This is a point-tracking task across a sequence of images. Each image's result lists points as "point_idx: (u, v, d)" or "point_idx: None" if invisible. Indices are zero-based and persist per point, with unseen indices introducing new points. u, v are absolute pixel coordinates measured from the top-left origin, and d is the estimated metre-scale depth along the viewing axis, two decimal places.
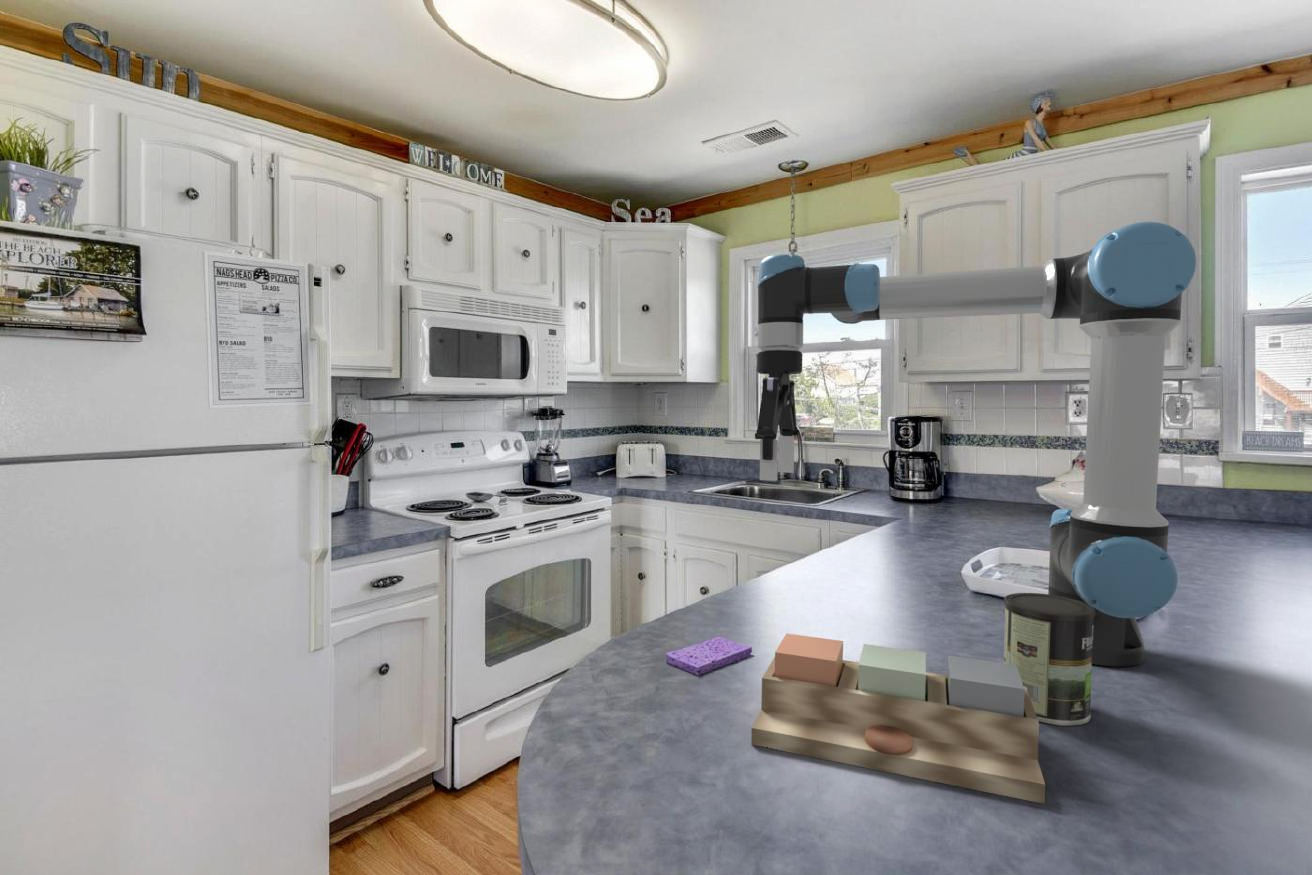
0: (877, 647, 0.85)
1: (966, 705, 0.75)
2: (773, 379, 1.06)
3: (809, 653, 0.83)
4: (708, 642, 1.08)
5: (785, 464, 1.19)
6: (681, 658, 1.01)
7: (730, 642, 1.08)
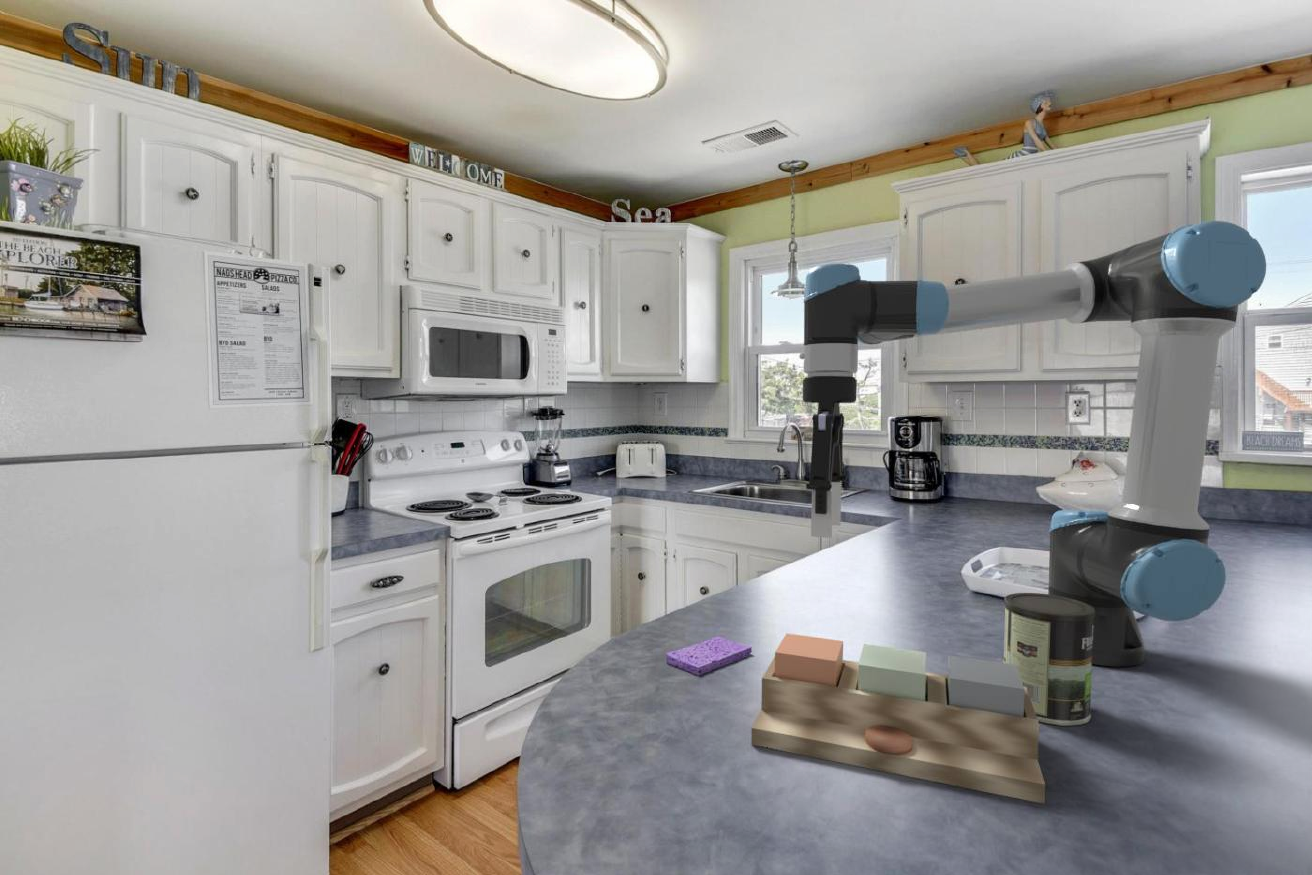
0: (877, 647, 0.85)
1: (966, 705, 0.75)
2: (825, 417, 0.90)
3: (809, 653, 0.83)
4: (708, 642, 1.08)
5: None
6: (682, 658, 1.01)
7: (729, 642, 1.09)
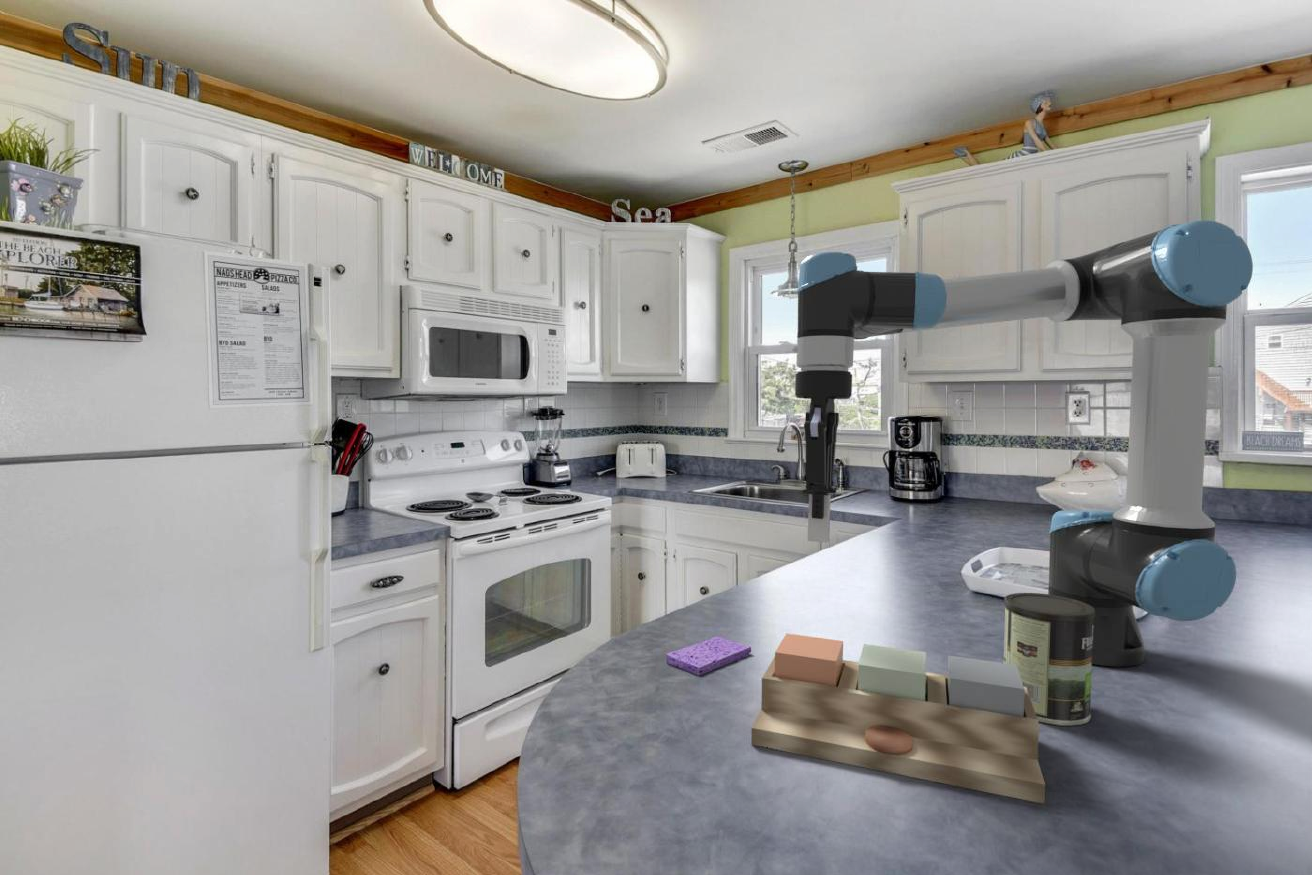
0: (877, 647, 0.85)
1: (966, 705, 0.75)
2: (817, 426, 0.86)
3: (809, 653, 0.83)
4: (707, 642, 1.08)
5: None
6: (682, 658, 1.01)
7: (729, 642, 1.09)
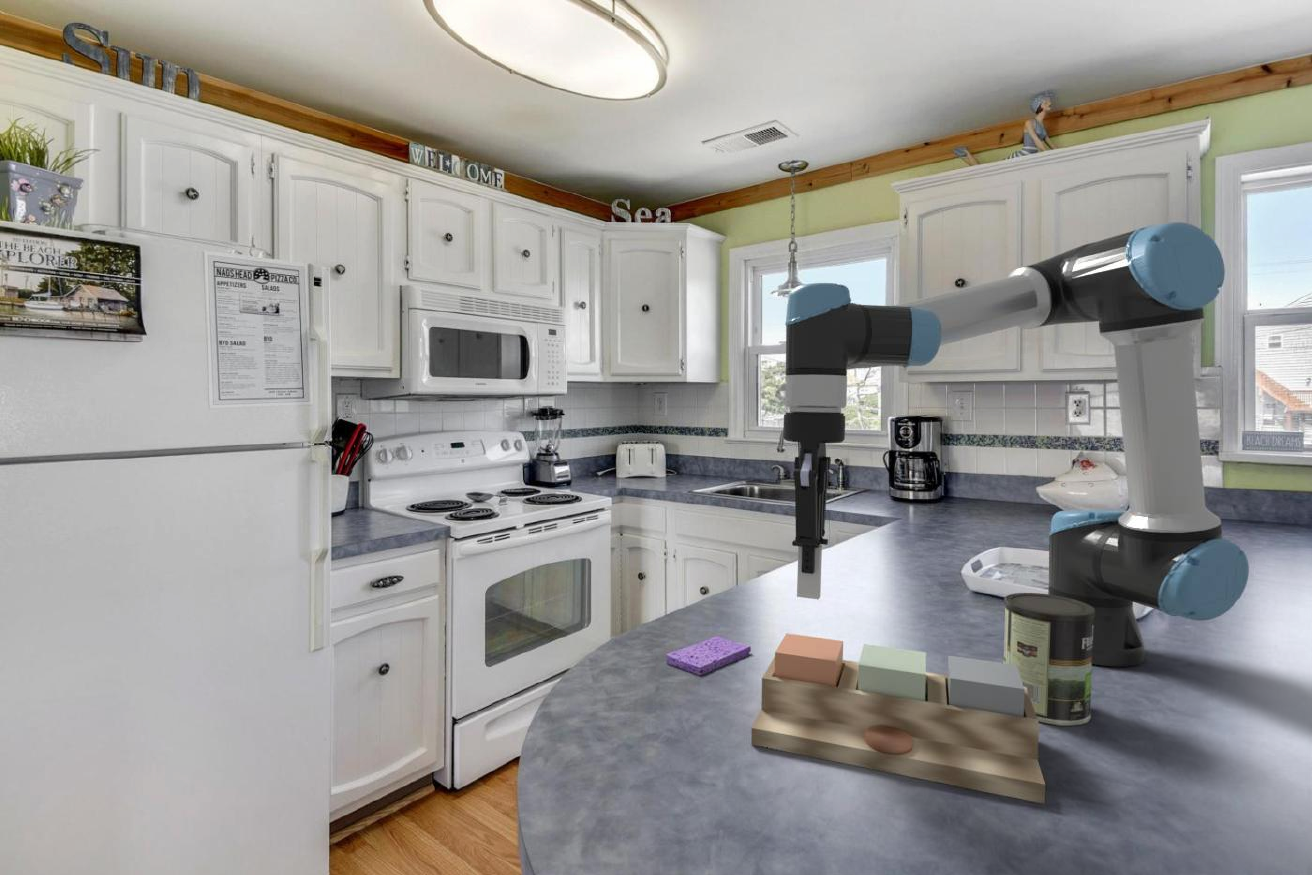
0: (877, 647, 0.85)
1: (966, 705, 0.75)
2: (808, 475, 0.78)
3: (809, 653, 0.83)
4: (706, 642, 1.08)
5: None
6: (682, 659, 1.01)
7: (728, 642, 1.09)
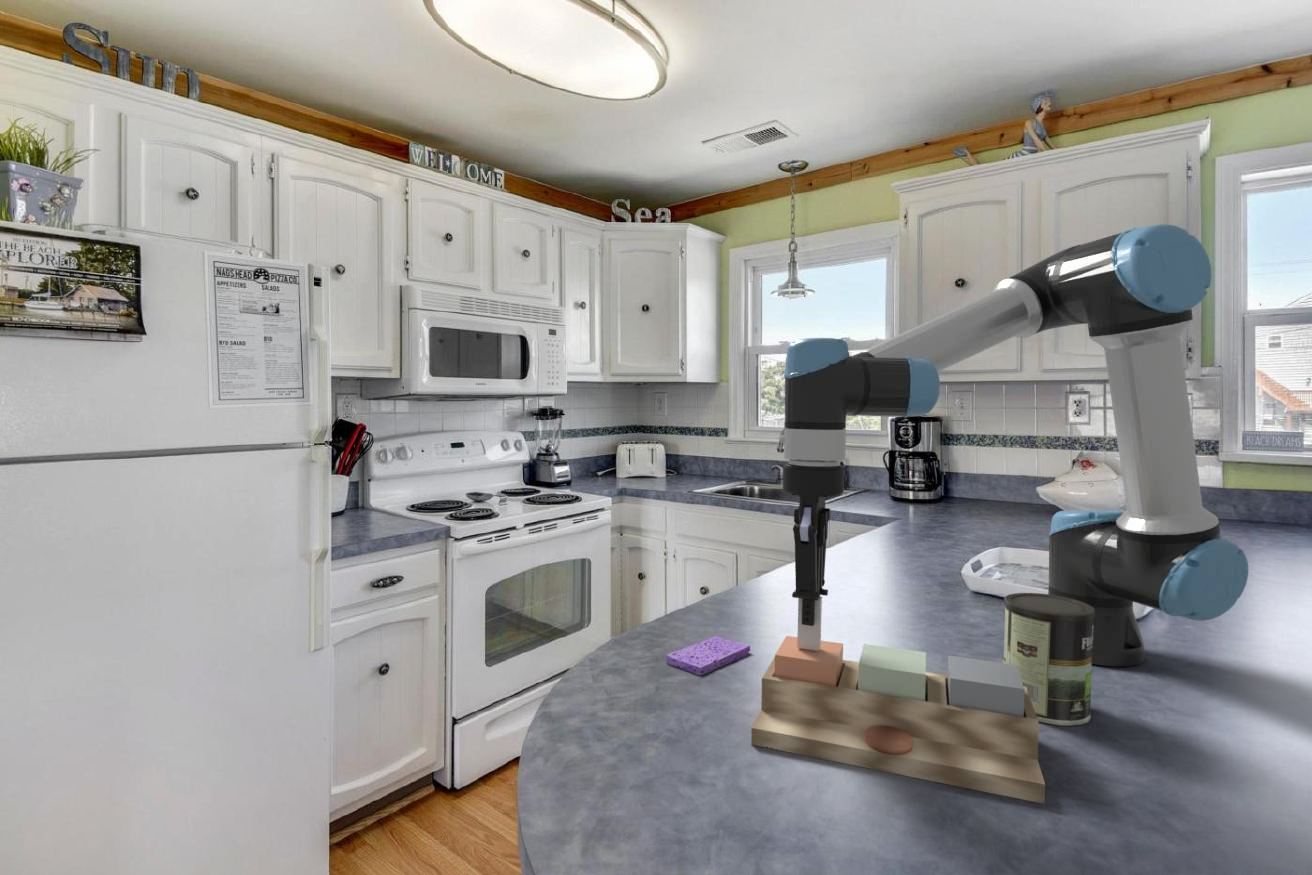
0: (877, 647, 0.85)
1: (966, 705, 0.75)
2: (808, 531, 0.78)
3: (809, 656, 0.83)
4: (706, 642, 1.08)
5: None
6: (683, 659, 1.01)
7: (728, 641, 1.09)
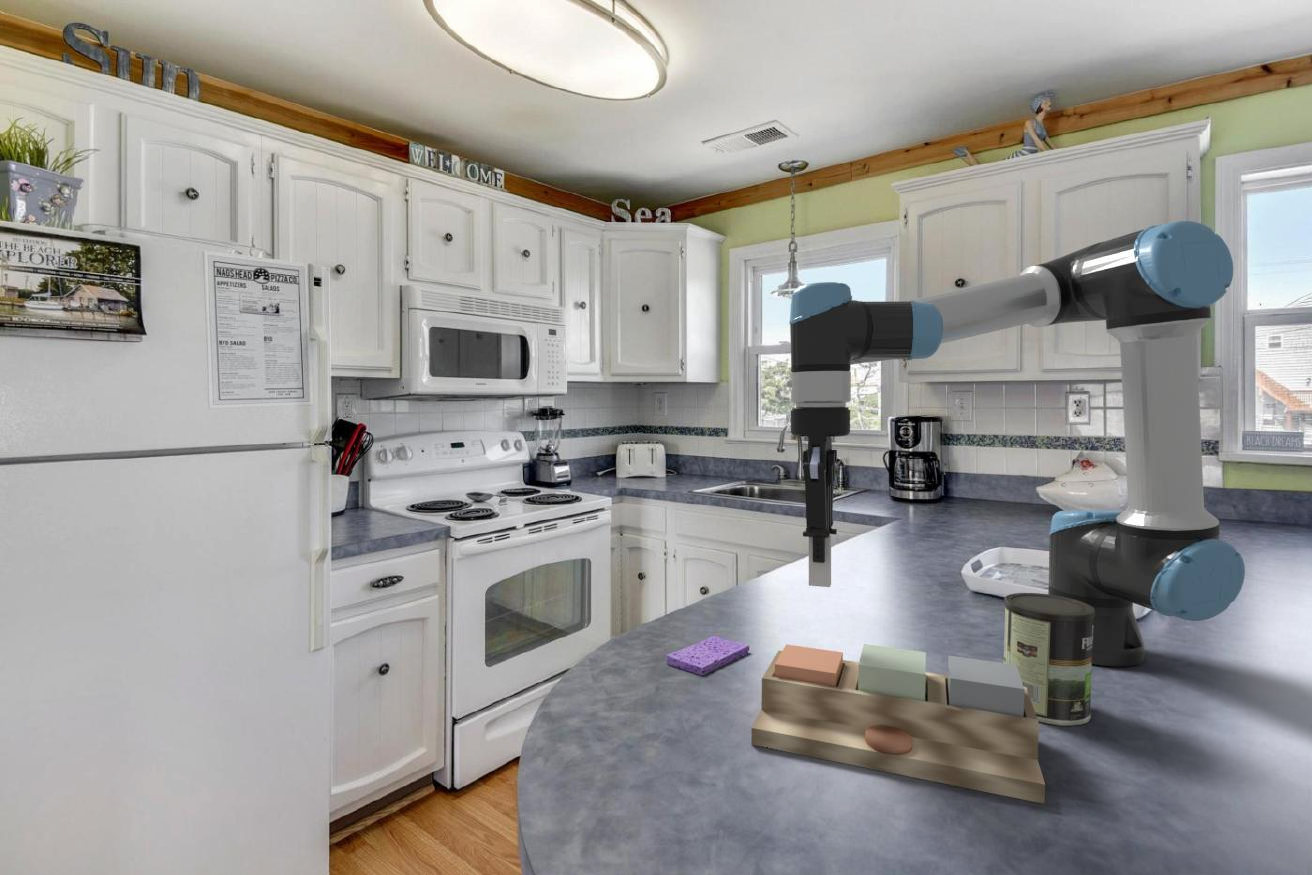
0: (877, 647, 0.85)
1: (966, 705, 0.75)
2: (817, 468, 0.81)
3: (809, 665, 0.83)
4: (705, 642, 1.08)
5: None
6: (684, 659, 1.01)
7: (726, 641, 1.09)
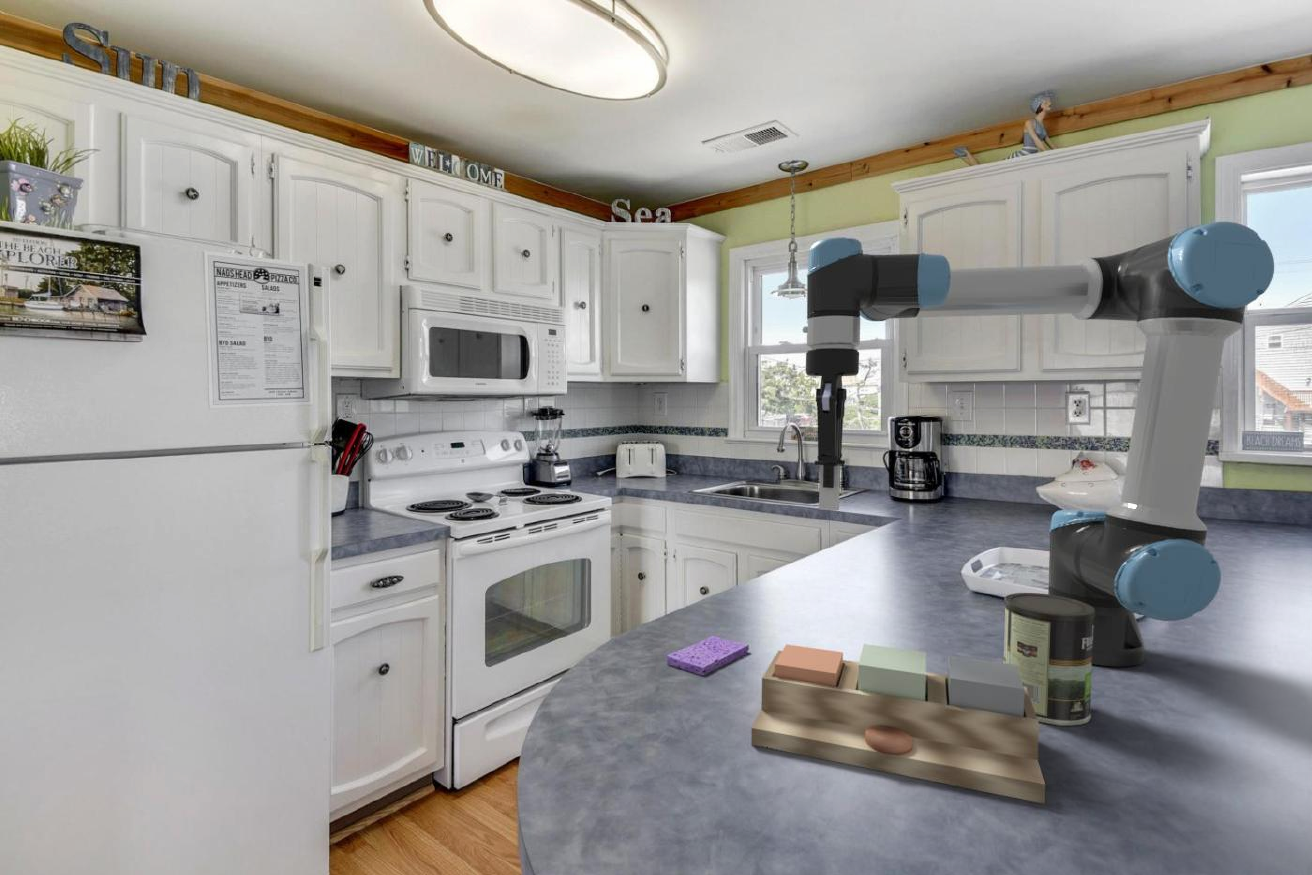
0: (877, 647, 0.85)
1: (966, 705, 0.75)
2: (829, 400, 0.92)
3: (809, 665, 0.83)
4: (704, 642, 1.08)
5: None
6: (684, 659, 1.01)
7: (726, 641, 1.09)
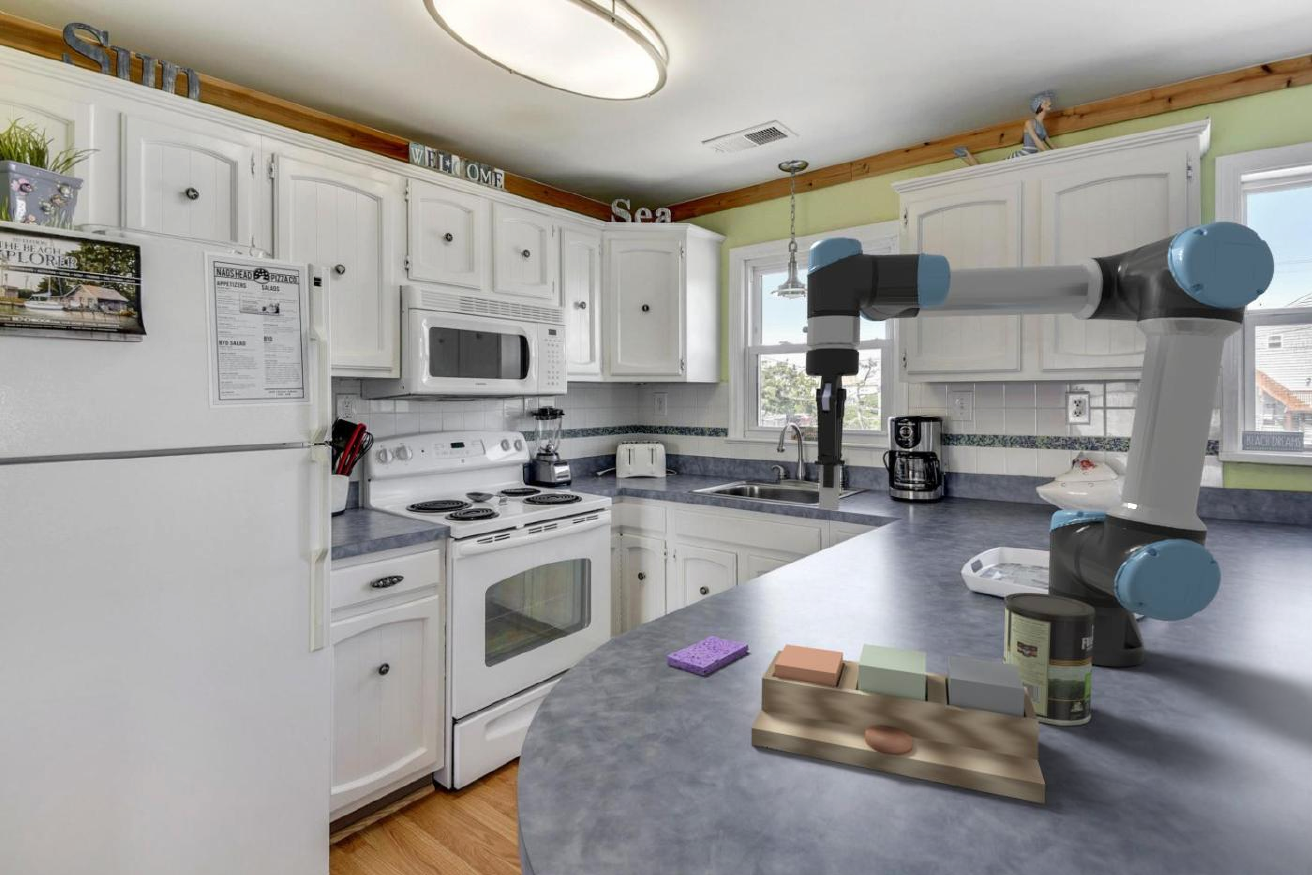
0: (877, 647, 0.85)
1: (966, 705, 0.75)
2: (829, 400, 0.92)
3: (809, 665, 0.83)
4: (704, 642, 1.08)
5: None
6: (684, 659, 1.01)
7: (725, 641, 1.09)
